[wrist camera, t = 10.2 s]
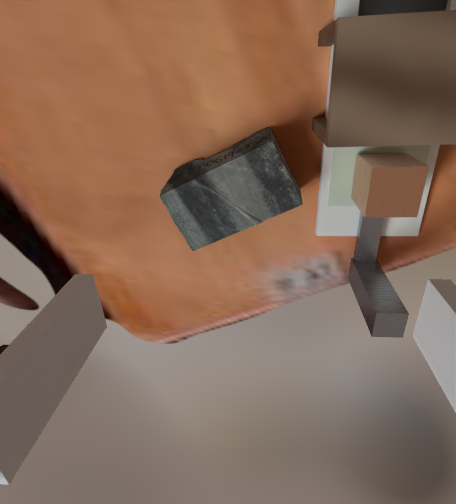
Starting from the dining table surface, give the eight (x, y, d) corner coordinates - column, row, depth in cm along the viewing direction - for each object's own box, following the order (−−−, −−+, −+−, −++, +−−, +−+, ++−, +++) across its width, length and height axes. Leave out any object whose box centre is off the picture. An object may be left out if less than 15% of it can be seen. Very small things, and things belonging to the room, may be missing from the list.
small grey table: (318, 32, 33) (339, 17, 24) (479, 22, 31) (565, 2, 22) (312, 129, 37) (327, 147, 28) (453, 125, 36) (516, 142, 27)
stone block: (162, 176, 42) (149, 188, 37) (269, 119, 37) (269, 125, 33) (198, 235, 45) (190, 254, 40) (300, 189, 41) (304, 204, 36)
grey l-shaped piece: (357, 153, 37) (390, 182, 27) (405, 152, 36) (456, 182, 26) (340, 278, 44) (361, 336, 34) (380, 278, 44) (413, 337, 34)
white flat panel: (338, -42, 30) (341, -46, 29) (482, -54, 29) (490, -58, 28) (315, 232, 43) (316, 236, 42) (414, 232, 42) (418, 236, 41)
